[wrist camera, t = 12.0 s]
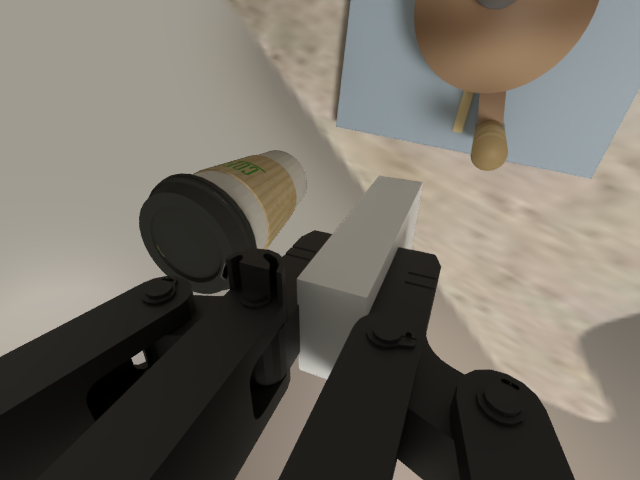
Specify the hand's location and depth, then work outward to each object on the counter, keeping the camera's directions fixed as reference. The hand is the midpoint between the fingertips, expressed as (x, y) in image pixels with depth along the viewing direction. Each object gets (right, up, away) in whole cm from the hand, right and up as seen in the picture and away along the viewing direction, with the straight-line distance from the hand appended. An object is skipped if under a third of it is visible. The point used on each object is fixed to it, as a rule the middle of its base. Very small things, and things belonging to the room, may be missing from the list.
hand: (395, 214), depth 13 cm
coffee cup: (-7, +6, +26) cm, 27 cm away
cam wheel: (+9, +13, +11) cm, 19 cm away
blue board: (+9, +15, +12) cm, 22 cm away
